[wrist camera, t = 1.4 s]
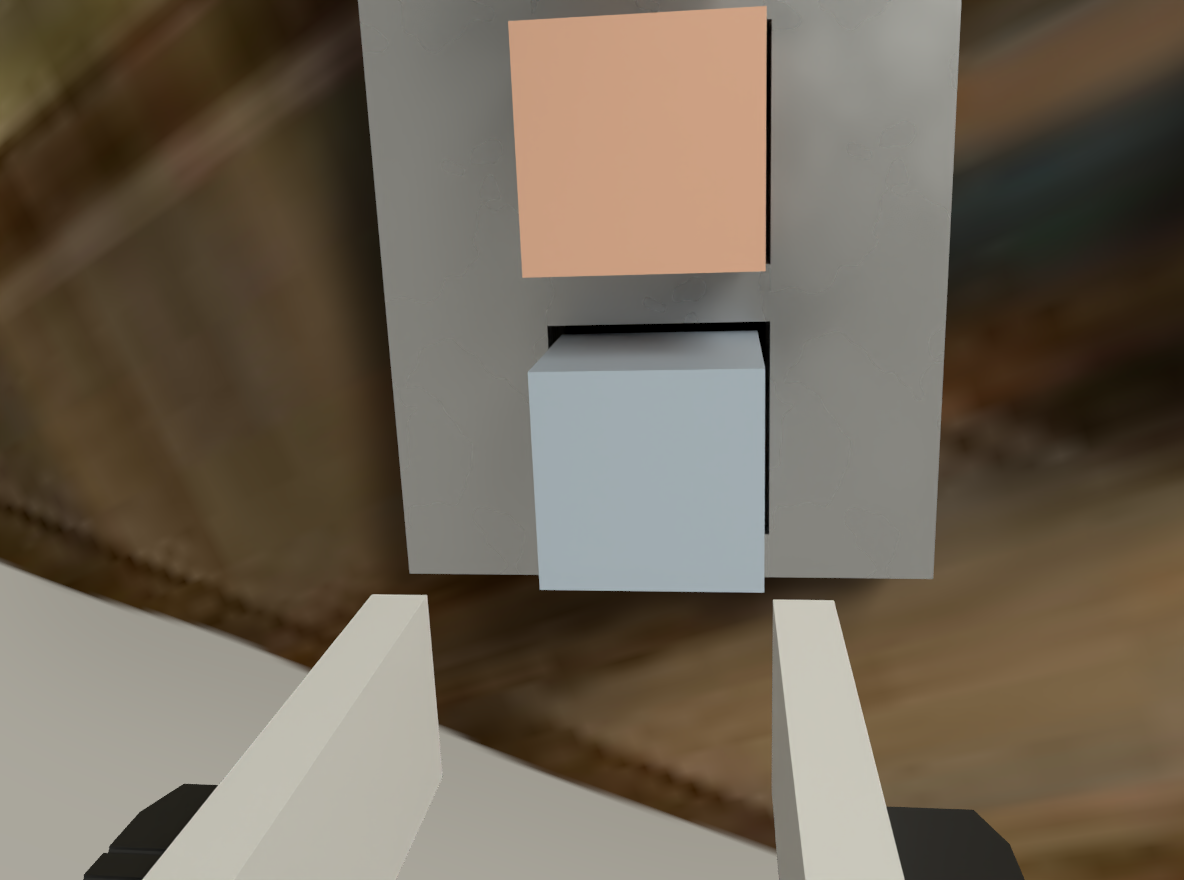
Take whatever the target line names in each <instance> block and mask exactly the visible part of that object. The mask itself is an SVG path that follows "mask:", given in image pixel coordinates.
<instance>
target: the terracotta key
mask: <svg viewBox="0 0 1184 880" xmlns="http://www.w3.org/2000/svg"><path fill="white" fill-rule="evenodd" d="M508 29H509V47H510V65H511V83H512V101H513V119H514V137H515V155H516V173H517V191H518V208H519V226H520V244H521V262H522V278H533V277H571V276H609V275H646V274H684V273H722V272H759V271H766V44H767V6H757V7H740V8H723V9H706V10H689V11H672V12H655V13H637V14H620V15H603V16H586V17H569V18H552V19H535V20H518V21H508Z"/></svg>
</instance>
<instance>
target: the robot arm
mask: <svg viewBox="0 0 1184 880" xmlns="http://www.w3.org/2000/svg"><path fill="white" fill-rule="evenodd" d="M442 777H443V774H442V762H441V751H440V738H439V727H438V715H437V704H436V692H435V680H434V669H433V657H432V645H431V634H430V622H429V611H428V599H427V595H380V594H372V595H371V596H370V597H369V599H368V600H367V601H366V602H365V604H364V605H363V606H362V607H361V609H360V610H359V611H358V612H357V614H356V615H355V616H354V617H353V619H352V620H351V621H350V622H349V624H348V625H347V626H346V627H345V629H344V630H343V631H342V632H341V634H340V635H339V636H338V637H337V638H336V640H335V641H334V642H333V643H332V645H331V646H330V647H329V648H328V650H327V651H326V652H325V653H324V655H323V656H322V657H321V658H320V660H319V661H318V662H317V663H316V665H315V666H314V667H313V668H312V670H311V671H310V672H309V673H308V674H307V676H306V677H305V678H304V679H303V681H302V682H301V683H300V684H299V686H298V687H297V688H296V690H295V691H294V692H293V693H292V694H291V696H290V697H289V698H288V699H287V701H286V702H285V703H284V704H283V706H282V707H281V708H280V709H279V711H278V712H277V713H276V714H275V715H274V717H273V718H272V719H271V720H270V722H269V723H268V724H267V725H266V727H265V728H264V729H263V731H262V732H261V733H260V734H259V735H258V737H257V738H256V739H255V740H254V742H253V743H252V744H251V745H250V747H249V748H248V749H247V750H246V752H245V753H244V754H243V755H242V757H241V758H240V759H239V760H238V761H237V763H236V764H235V765H234V767H233V768H232V769H231V770H230V771H229V773H228V774H227V775H226V776H225V778H224V779H223V780H222V781H221V783H220V784H219V785H199V784H183V785H181V786H180V787H179V788H177V789H175V790H174V791H172V792H170V793H169V794H167V795H166V796H164V797H163V798H161V799H160V800H158V801H157V802H155V803H154V804H152V805H150V806H149V807H147V808H146V809H144V810H143V811H141V812H139V814H138V815H137V816H136V817H135V818H134V819H133V820H132V821H131V823H130V824H129V825H128V826H127V827H126V828H125V829H124V831H123V832H122V833H121V834H120V835H119V836H118V837H117V838H116V839H115V841H114V842H113V843H112V844H111V845H110V847H109V852H108V853H103V854H102V855H101V856H100V857H99V858H98V860H97V861H96V862H95V863H94V864H93V865H92V866H91V867H90V869H89V870H88V871H87V872H86V873H85V874H84V879H83V880H396V879H397V877H398V874H399V872H400V870H401V868H402V865H403V863H404V861H405V859H406V857H407V855H408V852H409V850H410V848H411V846H412V844H413V841H414V839H415V837H416V835H417V833H418V830H419V828H420V826H421V824H422V822H423V819H424V817H425V814H426V813H427V810H428V808H429V806H430V804H431V802H432V799H433V797H434V795H435V793H436V791H437V788H438V786H439V784H440V782H441V780H442ZM772 798H773V810H774V823H775V836H776V848H777V860H778V874H779V880H1024V877H1023V875H1022V872H1021V870H1020V868H1019V865H1018V863H1017V861H1016V858H1015V856H1014V853H1013V851H1012V849H1011V846H1010V844H1009V843H1008V842H1007V841H1006V840H1005V839H1003V838H1002V837H1001V836H1000V835H999V834H998V833H997V832H996V831H995V830H994V829H993V828H992V827H991V826H990V825H989V824H988V823H987V822H986V821H985V820H984V819H982V818H981V817H980V816H979V815H978V814H977V813H976V812H975V811H974V810H962V809H935V808H908V807H886V804H885V800H884V796H883V792H882V788H881V784H880V780H879V777H878V773H877V769H876V765H875V761H874V757H873V753H872V749H871V745H870V741H869V737H868V733H867V729H866V725H865V721H864V717H863V713H862V709H861V705H860V701H859V698H858V694H857V690H856V686H855V682H854V678H853V674H852V670H851V666H850V662H849V658H848V654H847V650H846V646H845V642H844V638H843V634H842V630H841V626H840V622H839V619H838V615H837V611H836V607H835V603H834V600H773V673H772Z"/></svg>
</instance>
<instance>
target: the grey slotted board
mask: <svg viewBox="0 0 1184 880" xmlns="http://www.w3.org/2000/svg"><path fill="white" fill-rule="evenodd" d="M358 6H359V18H360V29H361V40H362V51H363V62H364V73H365V84H366V95H367V106H368V117H369V129H370V140H371V151H372V162H373V173H374V184H375V195H376V206H377V217H378V229H379V240H380V251H381V262H382V273H383V284H384V295H385V306H386V317H387V328H388V340H389V351H390V362H391V373H392V384H393V395H394V406H395V417H396V428H397V439H398V451H399V462H400V473H401V484H402V495H403V506H404V517H405V528H406V539H407V550H408V562H409V573H410V574H501V575H539V567H538V549H537V531H536V513H535V495H534V477H533V460H532V442H531V424H530V406H529V388H528V371H529V370H530V369H531V368H532V367H533V366H534V365H535V364H536V362H537V361H538V360H539V359H540V358H541V357H542V356H543V355H544V354H545V353H546V352H547V350H548V349H549V348H550V347H551V346H552V345H553V344H554V343H555V342H556V341H557V339H558V338H559V337H560V336H561V335H562V334H565V326H569V325H618V324H666V323H715V322H764V321H765V536H764V577H794V578H892V579H933V570H934V550H935V529H936V509H937V489H938V468H939V448H940V427H941V407H942V386H943V366H944V345H945V325H946V305H947V284H948V264H949V243H950V223H951V202H952V182H953V161H954V141H955V121H956V100H957V80H958V59H959V39H960V18H961V0H358ZM757 6H767V47H766V271H759V272H722V273H684V274H646V275H609V276H571V277H533V278H522V262H521V244H520V226H519V208H518V191H517V173H516V155H515V137H514V119H513V101H512V83H511V65H510V47H509V29H508V21H518V20H535V19H552V18H569V17H586V16H603V15H620V14H637V13H655V12H672V11H689V10H706V9H723V8H740V7H757Z"/></svg>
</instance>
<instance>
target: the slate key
mask: <svg viewBox="0 0 1184 880" xmlns="http://www.w3.org/2000/svg"><path fill="white" fill-rule="evenodd" d="M528 388H529V406H530V424H531V442H532V460H533V477H534V495H535V513H536V531H537V549H538V567H539V585H540V590H590V591H672V592H755V593H764V536H765V365H764V360H763V356H762V351H761V346H760V341H759V336H758V331H757V330H754V331H703V332H651V333H600V334H562V335H561V336H560V337H559V338H558V339H557V341H556V342H555V343H554V344H553V345H552V346H551V347H550V348H549V349H548V350H547V352H546V353H545V354H544V355H543V356H542V357H541V358H540V359H539V360H538V361H537V362H536V364H535V365H534V366H533V367H532V368H531V369H530V370H529V371H528Z"/></svg>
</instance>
